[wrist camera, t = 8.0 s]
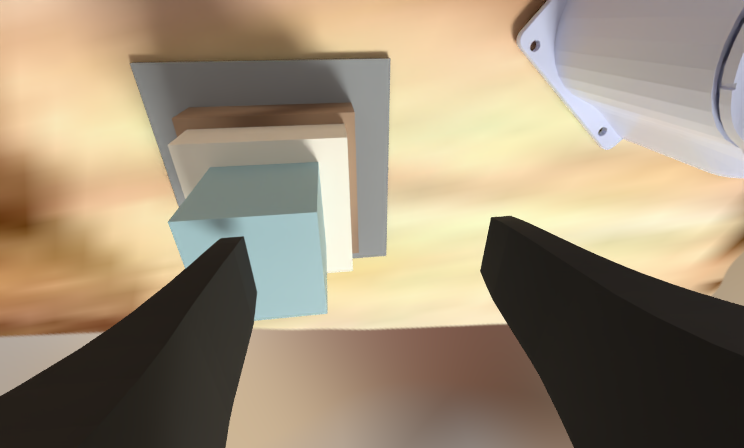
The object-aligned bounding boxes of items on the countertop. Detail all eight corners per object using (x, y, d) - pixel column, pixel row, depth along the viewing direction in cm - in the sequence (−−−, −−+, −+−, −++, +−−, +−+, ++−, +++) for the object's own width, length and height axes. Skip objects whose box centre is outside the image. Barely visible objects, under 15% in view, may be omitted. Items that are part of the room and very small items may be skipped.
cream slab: (344, 123, 16) (347, 137, 14) (350, 246, 19) (353, 270, 17) (186, 129, 15) (167, 145, 13) (223, 256, 19) (212, 282, 17)
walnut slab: (351, 102, 17) (354, 112, 15) (355, 232, 22) (358, 253, 20) (188, 107, 17) (171, 118, 15) (225, 242, 21) (216, 264, 19)
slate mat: (389, 58, 17) (390, 58, 17) (385, 253, 23) (386, 255, 23) (132, 62, 16) (129, 63, 15) (202, 267, 22) (200, 270, 21)
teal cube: (318, 161, 14) (317, 212, 10) (326, 247, 16) (327, 313, 13) (209, 167, 14) (167, 221, 10) (233, 254, 16) (206, 325, 12)
